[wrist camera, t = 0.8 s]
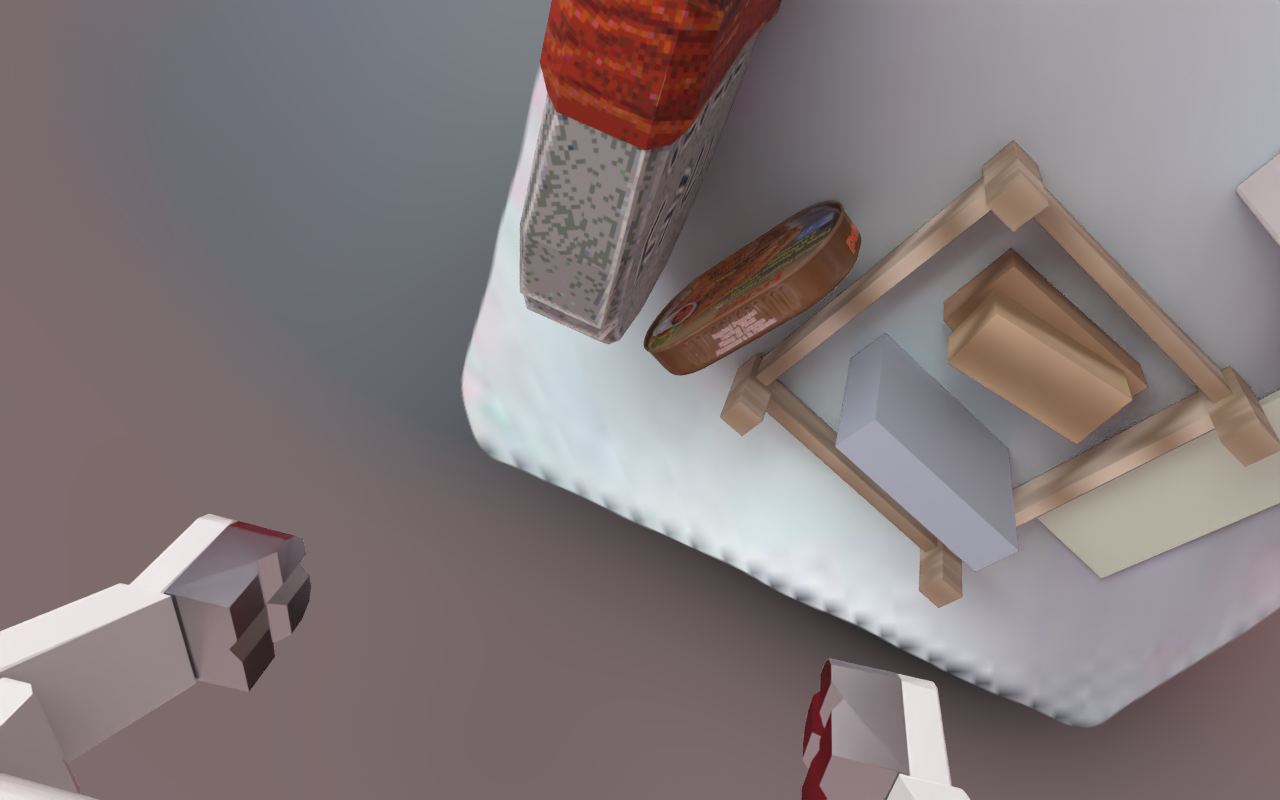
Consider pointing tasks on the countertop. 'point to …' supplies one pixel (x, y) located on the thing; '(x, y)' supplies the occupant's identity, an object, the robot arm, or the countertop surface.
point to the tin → (755, 289)
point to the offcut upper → (1037, 367)
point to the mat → (1167, 501)
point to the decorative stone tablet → (625, 147)
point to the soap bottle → (1264, 196)
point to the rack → (1216, 405)
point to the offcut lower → (1040, 310)
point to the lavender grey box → (928, 453)
